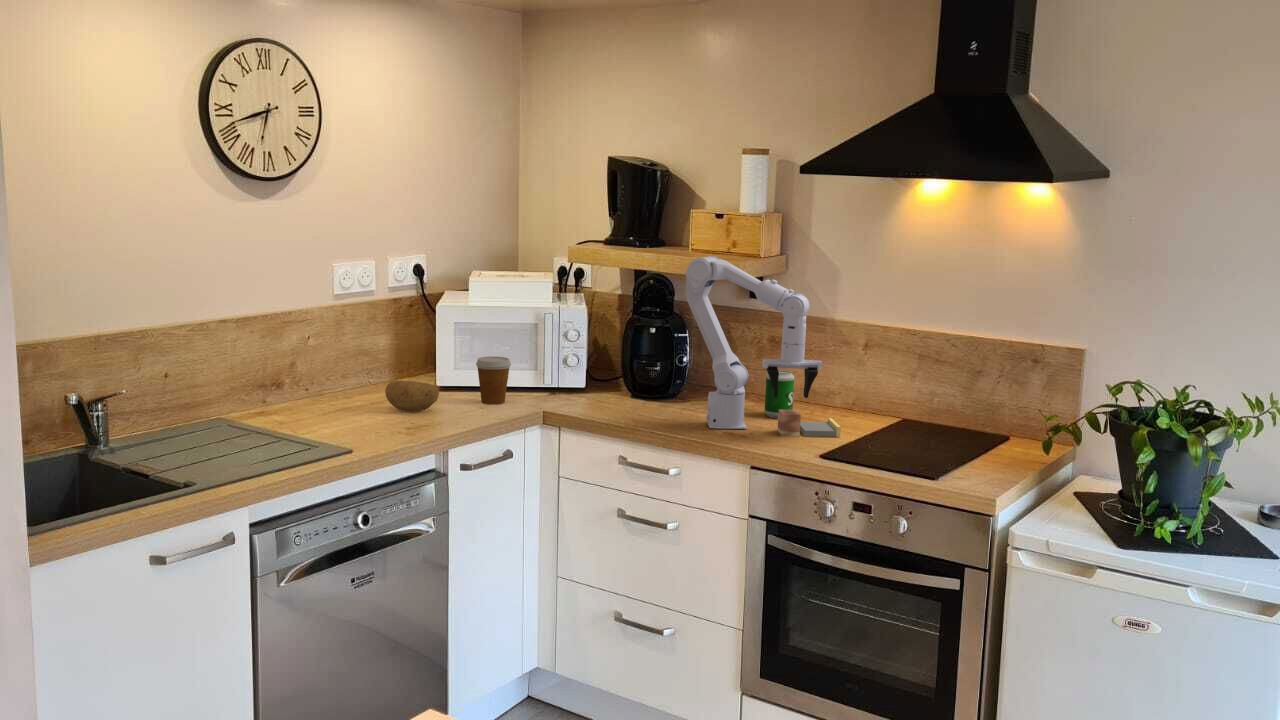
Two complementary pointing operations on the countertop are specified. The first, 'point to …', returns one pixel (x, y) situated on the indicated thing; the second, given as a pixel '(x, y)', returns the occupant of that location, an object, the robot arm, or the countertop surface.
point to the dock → (820, 429)
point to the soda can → (779, 394)
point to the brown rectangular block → (789, 423)
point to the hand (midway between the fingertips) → (790, 396)
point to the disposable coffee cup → (493, 378)
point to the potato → (411, 395)
